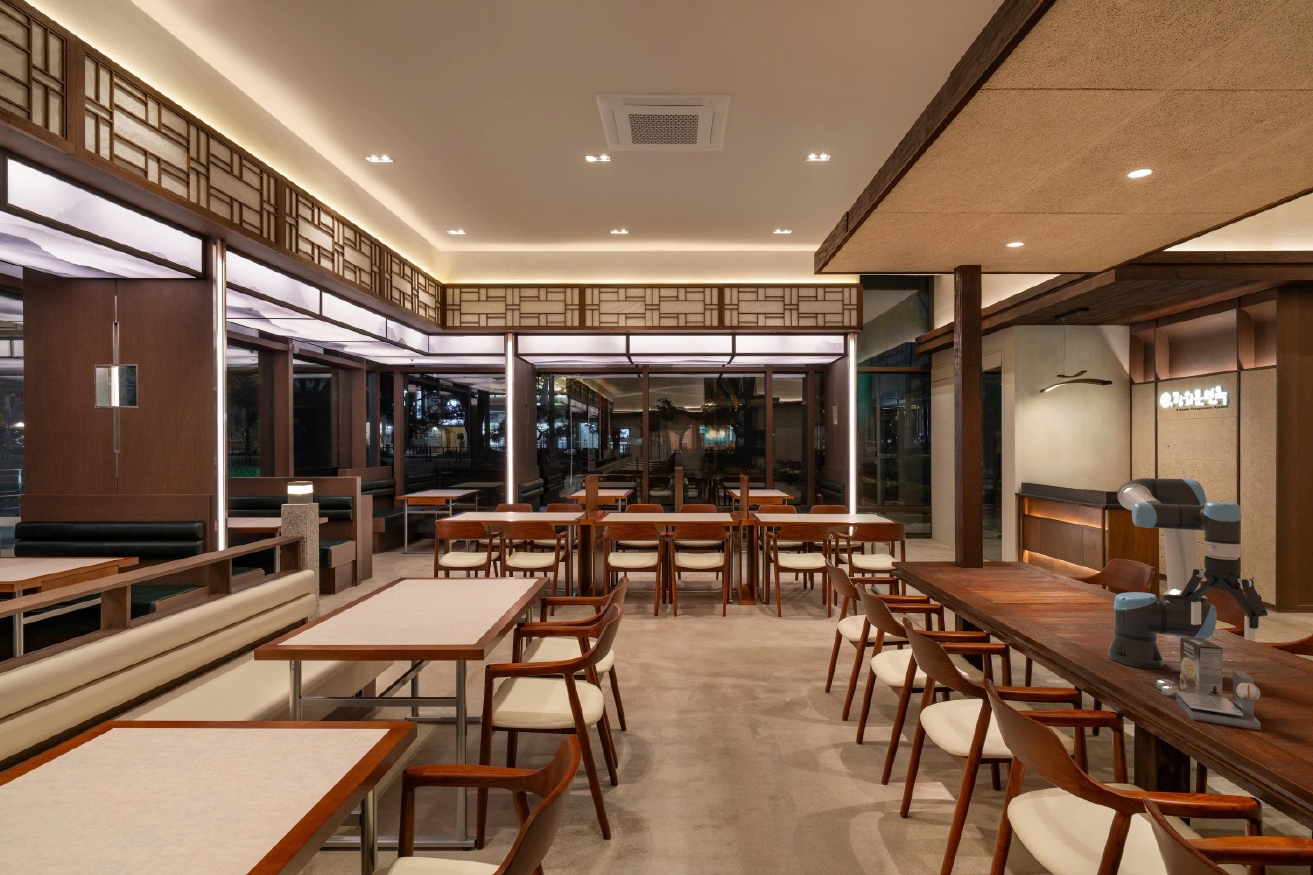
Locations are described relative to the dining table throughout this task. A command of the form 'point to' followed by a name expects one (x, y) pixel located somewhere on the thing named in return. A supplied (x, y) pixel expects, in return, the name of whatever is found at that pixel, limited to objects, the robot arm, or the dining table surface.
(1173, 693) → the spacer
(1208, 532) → the robot arm
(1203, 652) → the coffee box
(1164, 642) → the dining table surface
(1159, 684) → the cylinder
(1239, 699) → the scale
